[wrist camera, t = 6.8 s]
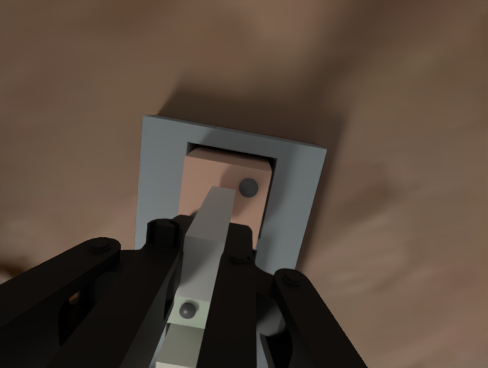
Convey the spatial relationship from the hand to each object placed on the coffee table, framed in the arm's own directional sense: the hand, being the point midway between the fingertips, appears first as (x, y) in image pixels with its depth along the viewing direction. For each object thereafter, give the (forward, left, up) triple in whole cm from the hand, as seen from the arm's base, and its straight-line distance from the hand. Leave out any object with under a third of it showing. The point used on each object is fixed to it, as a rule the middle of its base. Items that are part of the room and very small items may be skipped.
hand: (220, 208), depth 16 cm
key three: (0, 0, -5) cm, 5 cm away
